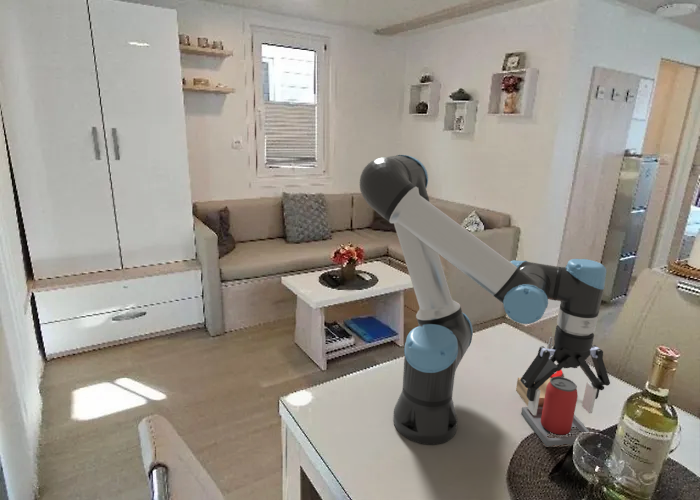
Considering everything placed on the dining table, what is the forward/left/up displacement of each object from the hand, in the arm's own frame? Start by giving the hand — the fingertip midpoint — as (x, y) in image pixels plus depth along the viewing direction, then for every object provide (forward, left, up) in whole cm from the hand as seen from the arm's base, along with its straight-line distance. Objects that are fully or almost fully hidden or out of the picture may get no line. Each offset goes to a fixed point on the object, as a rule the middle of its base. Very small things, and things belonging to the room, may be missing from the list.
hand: (559, 410), depth 98 cm
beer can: (0, 0, -5) cm, 5 cm away
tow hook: (+11, +24, -6) cm, 27 cm away
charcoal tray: (0, 0, -5) cm, 5 cm away
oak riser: (+2, +11, -5) cm, 12 cm away
